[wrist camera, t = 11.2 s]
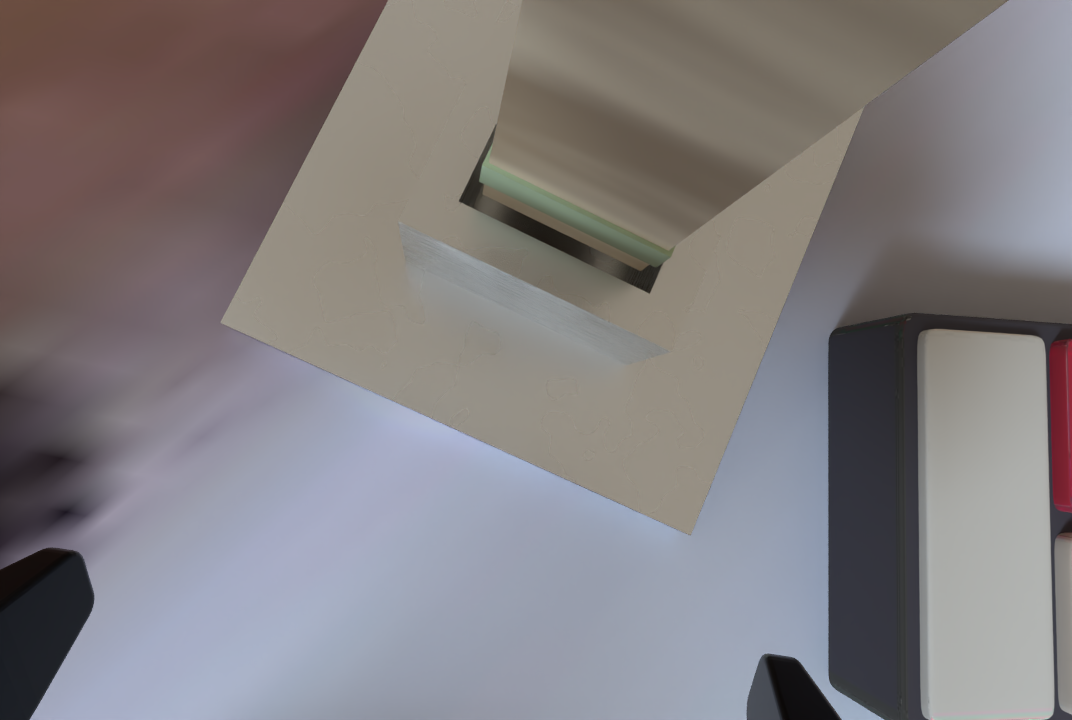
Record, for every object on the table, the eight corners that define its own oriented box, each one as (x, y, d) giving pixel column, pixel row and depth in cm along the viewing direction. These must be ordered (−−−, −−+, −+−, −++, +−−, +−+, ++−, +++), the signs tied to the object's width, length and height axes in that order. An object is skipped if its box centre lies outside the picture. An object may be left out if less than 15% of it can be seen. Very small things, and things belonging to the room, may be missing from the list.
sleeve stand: (678, 530, 21) (761, 566, 16) (231, 327, 20) (155, 292, 15) (845, 121, 23) (971, 29, 18) (446, -88, 22) (449, -255, 17)
